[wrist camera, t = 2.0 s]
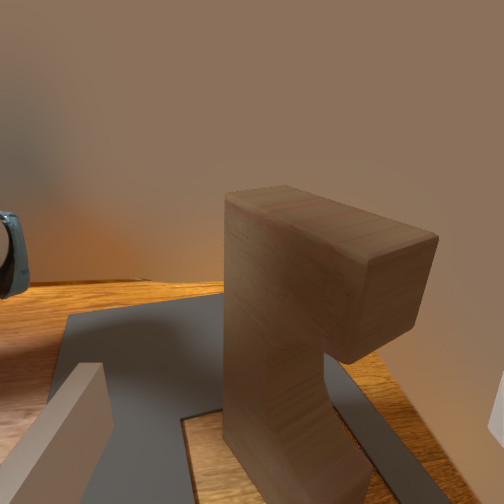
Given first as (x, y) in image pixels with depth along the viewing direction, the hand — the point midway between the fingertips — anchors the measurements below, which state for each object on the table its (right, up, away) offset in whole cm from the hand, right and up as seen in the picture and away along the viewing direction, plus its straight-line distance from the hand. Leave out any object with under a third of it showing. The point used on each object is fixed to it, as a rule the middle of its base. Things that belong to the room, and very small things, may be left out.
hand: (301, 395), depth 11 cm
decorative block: (+2, -20, +26) cm, 33 cm away
